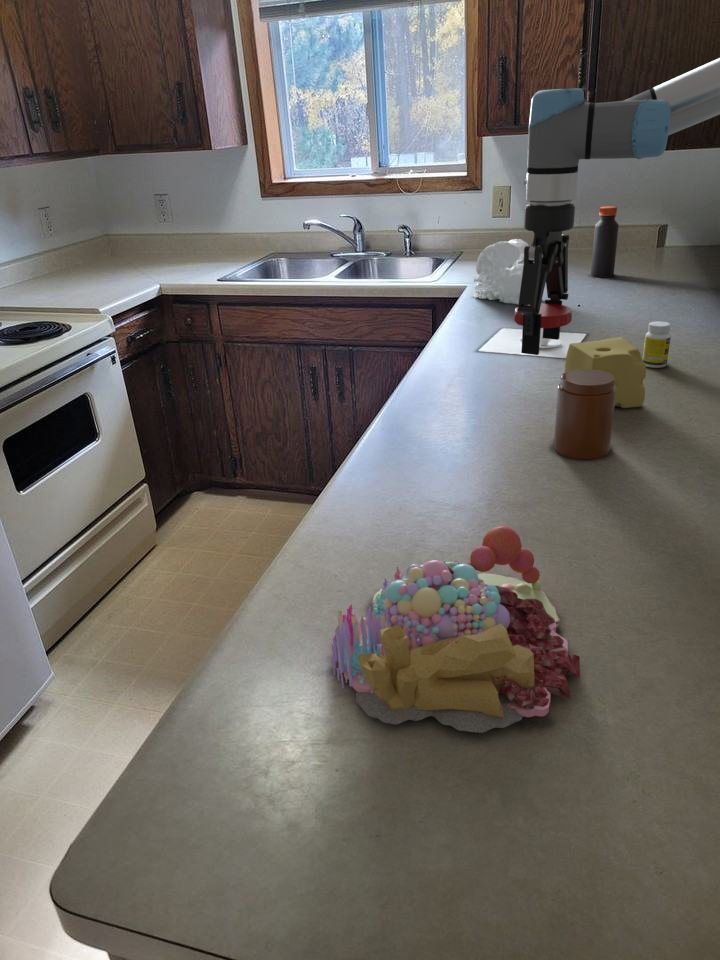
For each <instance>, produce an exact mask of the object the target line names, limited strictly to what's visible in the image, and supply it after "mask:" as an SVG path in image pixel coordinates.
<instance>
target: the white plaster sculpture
mask: <svg viewBox="0 0 720 960" xmlns="http://www.w3.org/2000/svg"><path fill="white" fill-rule="evenodd" d="M525 246H530V244H529V243H528V242H526V241H524V240H523V239H521V238H514V239H510V240H509V241H507V240H506V241H502V240H500V241H496V242H494V243H493V244H490V245H488V246H486V247H485V248H484V249H482V251H481V252H480V253H479V255H478V256H477V262H476V273H477V275H478V278H476V277H473V283H477V284H475V285H474V288H473V298H476V299H477V298H479V299H481V300H483V299H484V300H485V299H488V300H490V301H496V300H497V299H499V302H501V303H504V304H514V305H518V304H519V296H520V289H521V281H522V274H523V266H524V262H522V261H524V248H525ZM520 262H522V263H520Z"/></svg>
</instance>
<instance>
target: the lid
mask: <svg viewBox="0 0 720 960" xmlns="http://www.w3.org/2000/svg"><path fill="white" fill-rule="evenodd" d="M517 310H518V306H517V307H515V309H514V315H513V320H514V321H513V322H514V323H515V324H517V325H519V326H521V327H523V314H520V313H518V312H517ZM572 311H573V310H572V308H570V307H569V306H567V305H563V304H562V305H559V304H549V303H545V302H544V303H543V302H541V306H540V310H539V314H542V315H541V328H556V327H560V328H561V327H564V326H568V325H569V324H571V322H572V319H573V318H572V317H573V316H572V315H573V314H572Z"/></svg>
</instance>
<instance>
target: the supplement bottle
mask: <svg viewBox="0 0 720 960" xmlns="http://www.w3.org/2000/svg"><path fill="white" fill-rule="evenodd" d="M670 331H671V323H670V322H667V321H662V320H661V321H660V320H658V321H651V322H649V323H648V328H647V332H646V333H645V337H644V345H643V352H642V361H643V362H644V363H645V366H646V368H652V369H659V368H660V369H662V368H665V367H666V366H667V365H668V359H669V352H670V346H671V339H672V338H671V337H672V336H671V333H670Z"/></svg>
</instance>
